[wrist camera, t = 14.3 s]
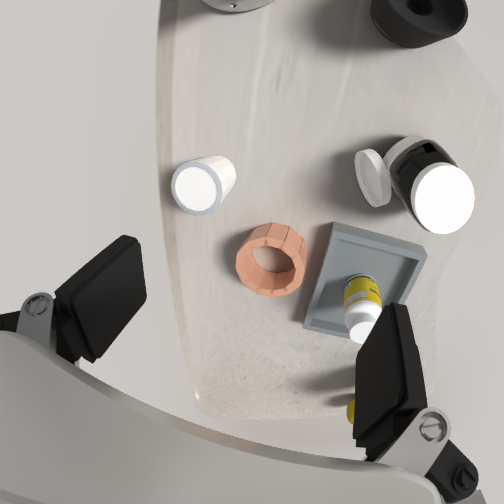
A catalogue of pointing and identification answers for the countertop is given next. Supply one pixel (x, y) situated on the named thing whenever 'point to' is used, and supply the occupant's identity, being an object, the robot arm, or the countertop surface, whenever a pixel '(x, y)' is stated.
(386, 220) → the countertop surface
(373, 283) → the supplement bottle
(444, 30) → the pen holder
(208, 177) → the white tapered cup
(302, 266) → the terracotta faceted ring
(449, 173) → the spread jar
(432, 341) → the countertop surface
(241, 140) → the countertop surface
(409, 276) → the tray
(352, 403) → the lemon
